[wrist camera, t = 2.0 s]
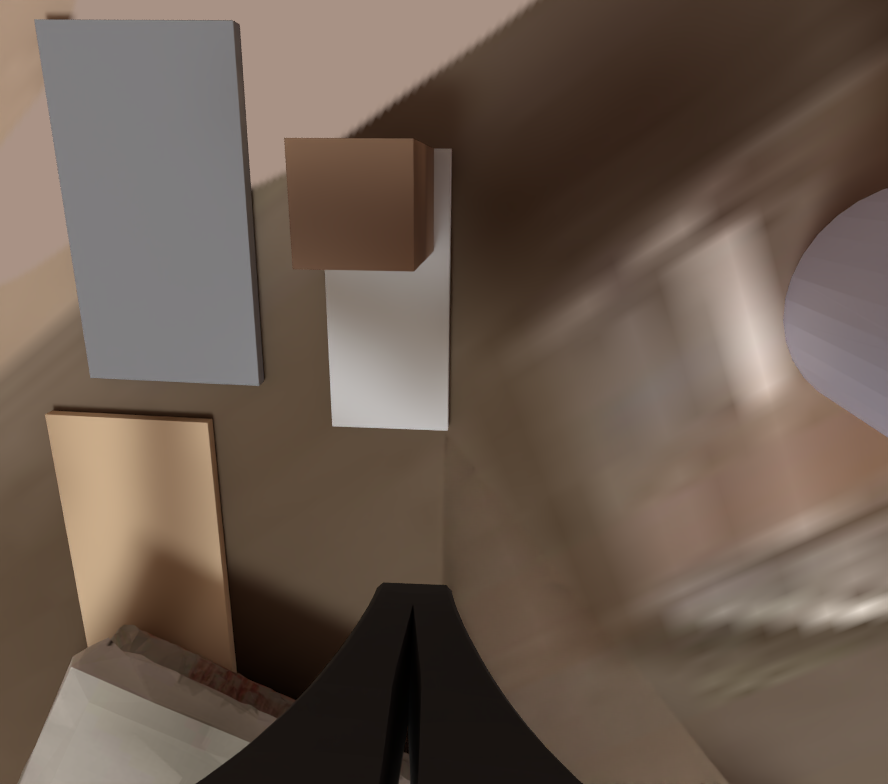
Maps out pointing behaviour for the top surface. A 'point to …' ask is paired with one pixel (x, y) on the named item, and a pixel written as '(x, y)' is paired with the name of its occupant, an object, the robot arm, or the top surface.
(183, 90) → the slate pad
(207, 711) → the packaged product
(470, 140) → the top surface
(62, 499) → the cork trivet
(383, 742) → the robot arm
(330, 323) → the brown and white block
